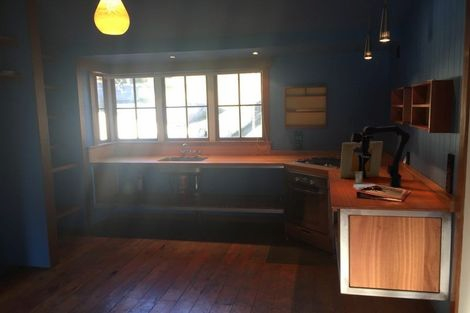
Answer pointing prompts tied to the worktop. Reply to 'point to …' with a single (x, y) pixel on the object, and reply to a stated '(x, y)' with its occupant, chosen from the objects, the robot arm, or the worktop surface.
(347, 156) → the picture frame
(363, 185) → the display block
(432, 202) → the worktop surface
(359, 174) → the brown box on plinth
